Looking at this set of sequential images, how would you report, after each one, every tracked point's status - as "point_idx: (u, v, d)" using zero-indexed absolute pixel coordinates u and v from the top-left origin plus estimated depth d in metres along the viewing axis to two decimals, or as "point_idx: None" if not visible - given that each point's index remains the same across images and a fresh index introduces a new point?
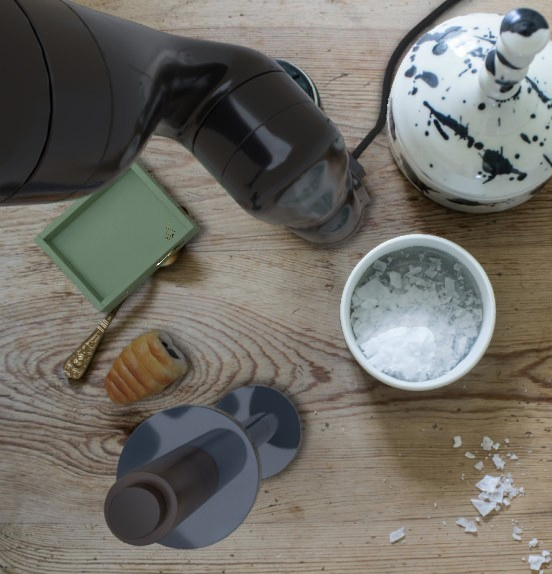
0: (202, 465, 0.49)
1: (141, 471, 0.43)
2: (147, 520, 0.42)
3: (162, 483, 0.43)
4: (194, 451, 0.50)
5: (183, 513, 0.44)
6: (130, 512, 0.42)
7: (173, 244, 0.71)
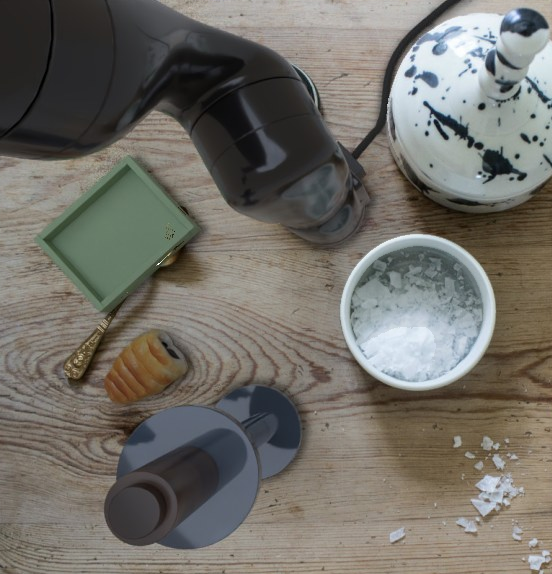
0: (202, 465, 0.49)
1: (141, 471, 0.43)
2: (147, 520, 0.42)
3: (162, 483, 0.43)
4: (194, 451, 0.50)
5: (183, 513, 0.44)
6: (130, 512, 0.42)
7: (173, 244, 0.71)
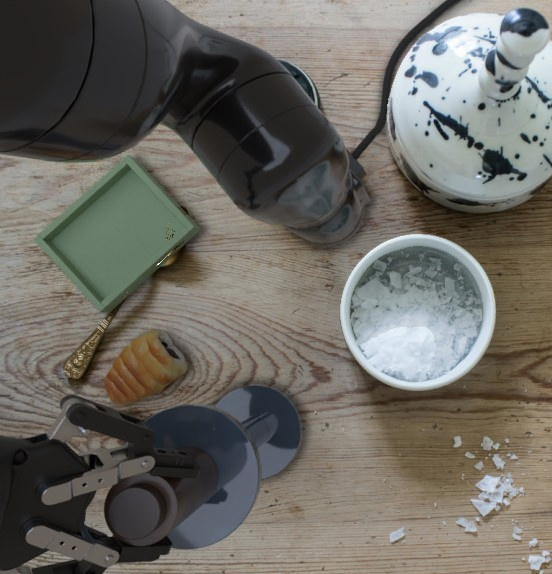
0: (202, 465, 0.49)
1: None
2: (147, 520, 0.42)
3: (162, 483, 0.43)
4: (194, 451, 0.50)
5: (183, 513, 0.44)
6: (130, 512, 0.42)
7: (173, 244, 0.71)
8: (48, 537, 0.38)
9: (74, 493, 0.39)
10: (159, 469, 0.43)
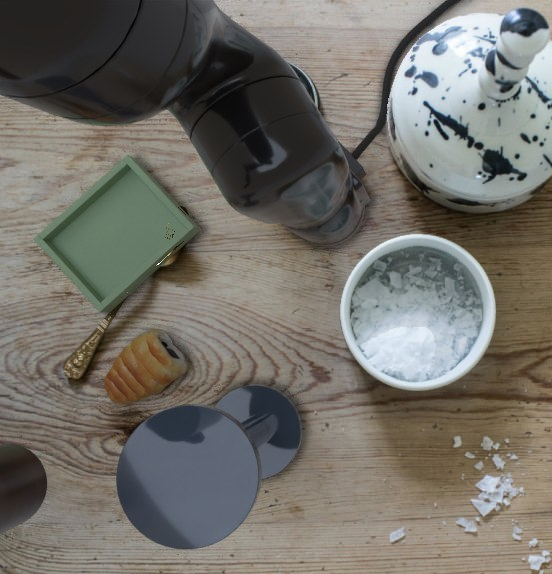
0: (18, 474, 0.36)
1: None
2: None
3: None
4: (15, 454, 0.37)
5: None
6: None
7: (173, 244, 0.71)
8: None
9: None
10: None
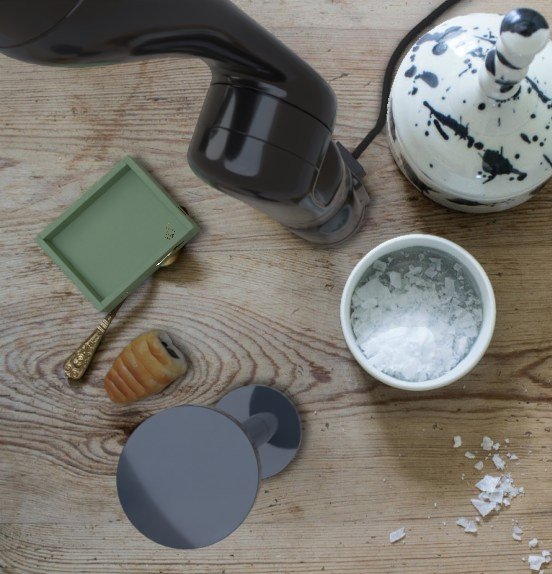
0: None
1: None
2: None
3: None
4: None
5: None
6: None
7: (173, 244, 0.71)
8: None
9: None
10: None
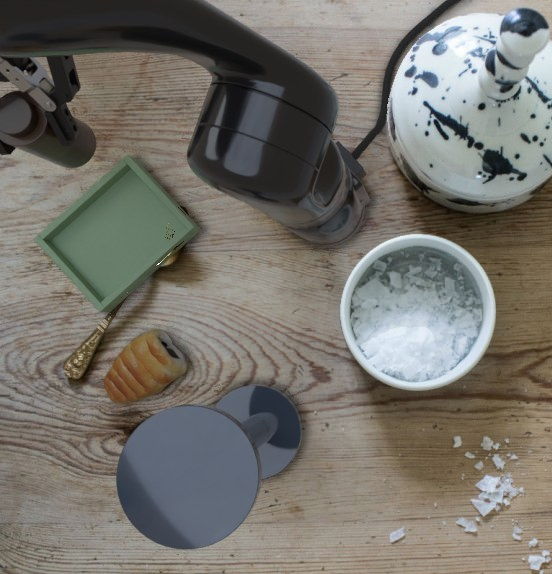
0: (81, 148, 0.62)
1: None
2: (11, 126, 0.55)
3: (43, 123, 0.56)
4: (89, 138, 0.63)
5: (32, 149, 0.57)
6: (10, 112, 0.55)
7: (173, 244, 0.71)
8: None
9: None
10: (51, 116, 0.56)
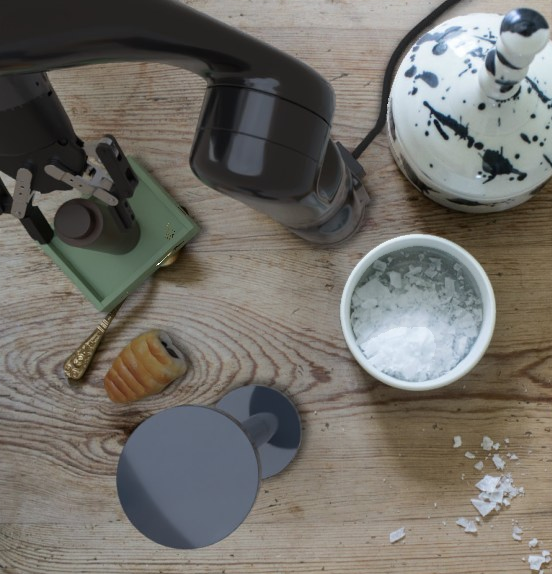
0: (128, 240, 0.70)
1: (100, 210, 0.64)
2: (72, 230, 0.63)
3: (99, 227, 0.64)
4: (135, 230, 0.71)
5: (89, 247, 0.65)
6: (72, 218, 0.63)
7: (173, 244, 0.71)
8: (27, 180, 0.59)
9: (63, 179, 0.59)
10: (113, 209, 0.63)
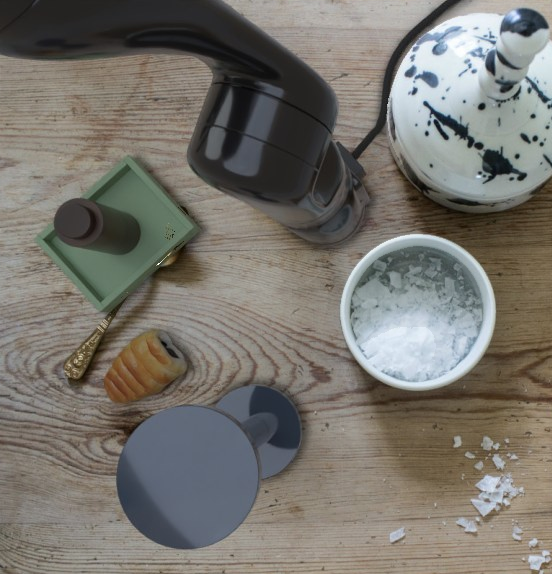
0: (128, 240, 0.70)
1: (100, 210, 0.64)
2: (72, 230, 0.63)
3: (99, 227, 0.64)
4: (135, 230, 0.71)
5: (89, 247, 0.65)
6: (72, 218, 0.63)
7: (173, 244, 0.71)
8: None
9: None
10: None
